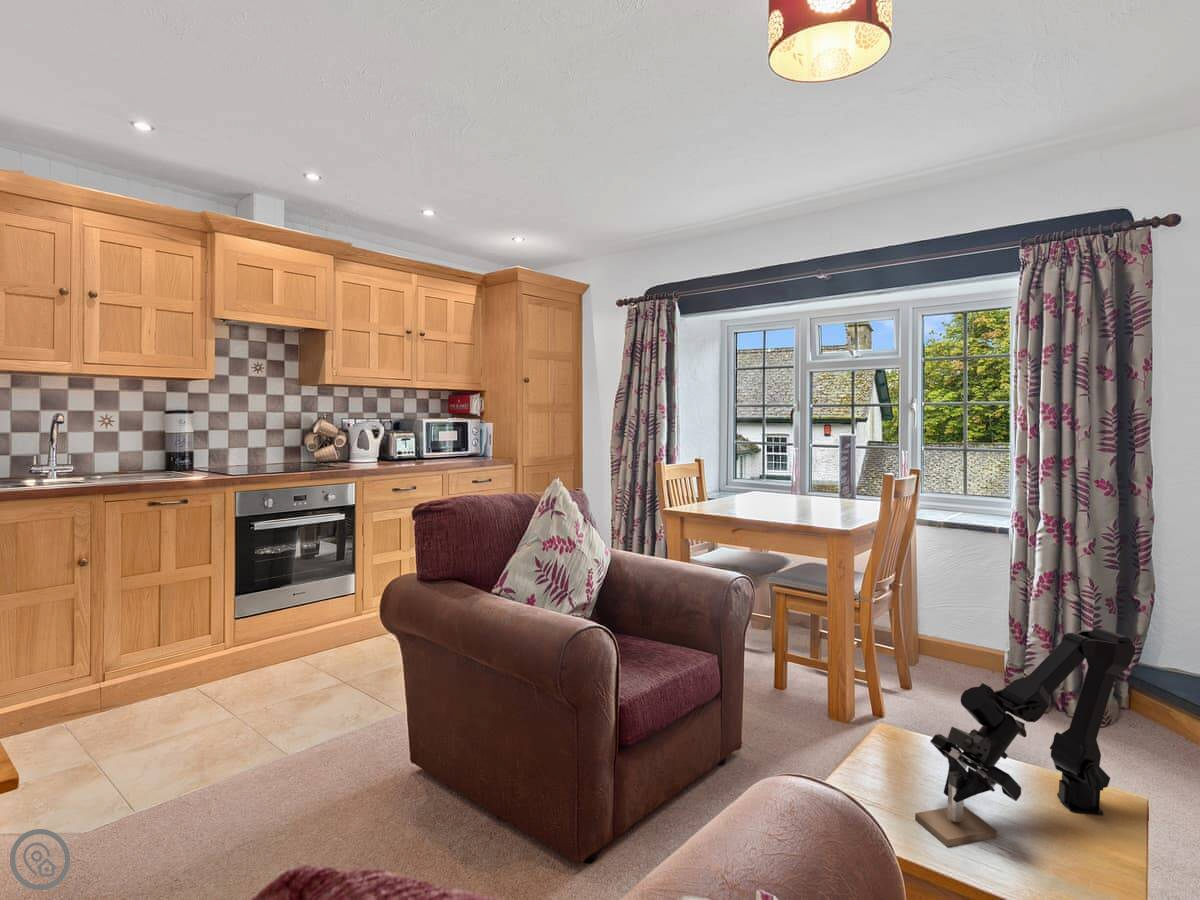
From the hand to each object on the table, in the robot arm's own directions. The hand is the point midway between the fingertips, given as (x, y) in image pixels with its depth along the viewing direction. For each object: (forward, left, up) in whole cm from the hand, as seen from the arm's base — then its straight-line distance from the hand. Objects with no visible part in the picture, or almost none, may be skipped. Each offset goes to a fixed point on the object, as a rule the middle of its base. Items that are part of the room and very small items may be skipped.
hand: (949, 797), depth 137 cm
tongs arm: (-1, -1, -5) cm, 5 cm away
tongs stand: (-1, -1, -7) cm, 7 cm away
